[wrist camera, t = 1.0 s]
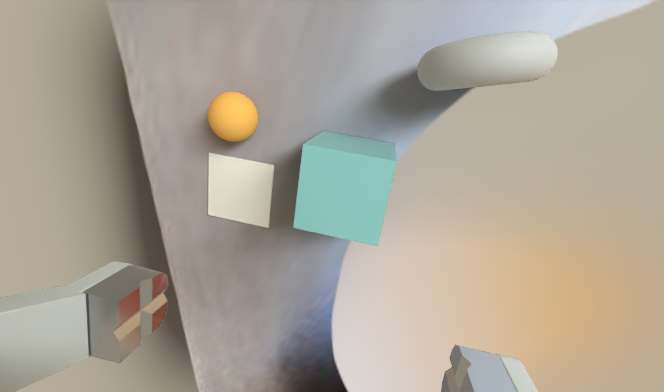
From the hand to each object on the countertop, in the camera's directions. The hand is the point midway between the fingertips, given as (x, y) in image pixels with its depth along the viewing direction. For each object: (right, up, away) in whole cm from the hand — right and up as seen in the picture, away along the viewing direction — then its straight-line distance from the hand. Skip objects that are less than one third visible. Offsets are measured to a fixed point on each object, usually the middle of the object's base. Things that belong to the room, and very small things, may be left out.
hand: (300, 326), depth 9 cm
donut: (+14, +16, +21) cm, 30 cm away
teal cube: (+3, +6, +26) cm, 27 cm away
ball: (-9, +12, +24) cm, 28 cm away
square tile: (-10, +4, +29) cm, 31 cm away
